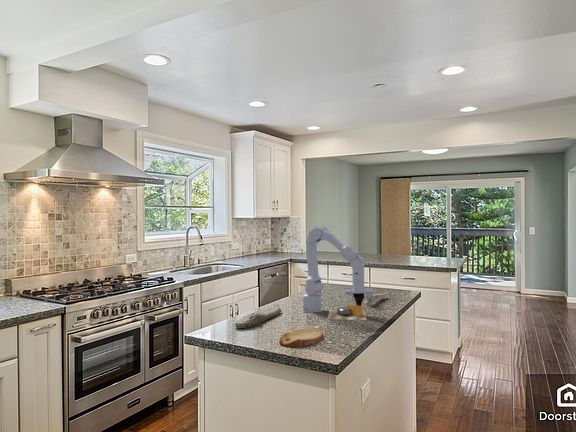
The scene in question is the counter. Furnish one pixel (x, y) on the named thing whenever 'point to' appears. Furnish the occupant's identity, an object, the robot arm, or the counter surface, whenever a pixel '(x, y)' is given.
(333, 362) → the counter surface
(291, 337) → the bread slice
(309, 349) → the counter surface
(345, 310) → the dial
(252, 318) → the elongated rock
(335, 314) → the panel
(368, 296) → the wrench
